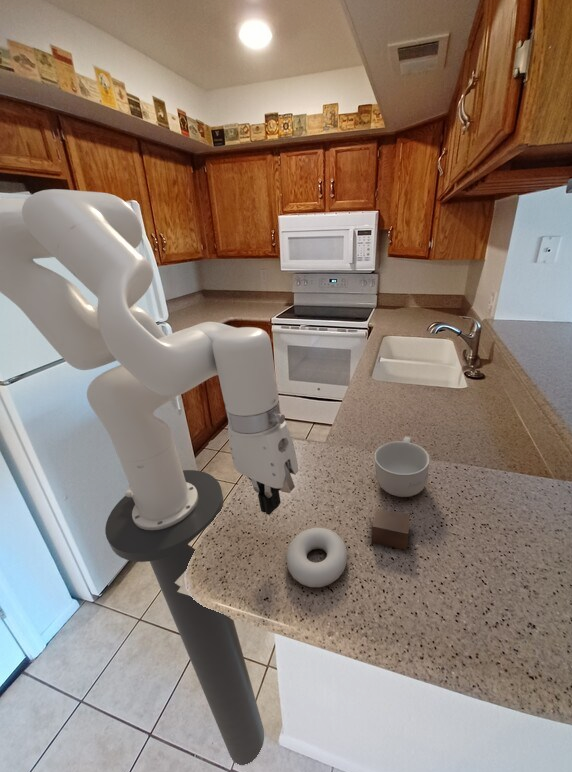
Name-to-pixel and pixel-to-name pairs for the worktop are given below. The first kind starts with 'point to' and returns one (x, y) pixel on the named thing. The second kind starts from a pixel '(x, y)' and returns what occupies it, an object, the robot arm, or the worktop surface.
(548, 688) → the worktop surface
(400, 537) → the block
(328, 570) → the donut
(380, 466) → the teacup
